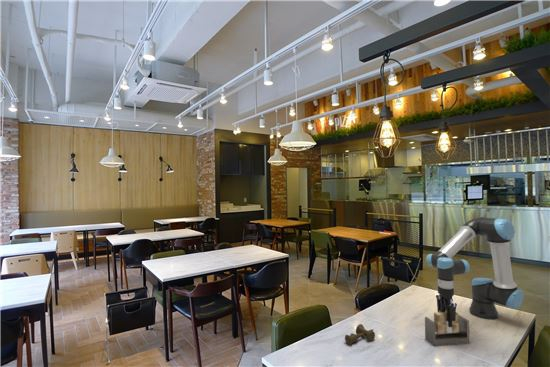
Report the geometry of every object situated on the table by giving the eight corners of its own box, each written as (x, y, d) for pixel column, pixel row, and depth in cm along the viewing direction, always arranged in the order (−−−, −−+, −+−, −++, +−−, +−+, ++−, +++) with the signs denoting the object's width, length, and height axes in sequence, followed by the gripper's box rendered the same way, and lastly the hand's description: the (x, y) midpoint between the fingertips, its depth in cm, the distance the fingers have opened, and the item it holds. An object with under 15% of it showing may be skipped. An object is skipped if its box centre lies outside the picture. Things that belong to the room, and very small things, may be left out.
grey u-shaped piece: (459, 336, 160) (459, 314, 160) (469, 343, 153) (468, 320, 153) (425, 339, 158) (424, 317, 158) (433, 346, 151) (433, 323, 151)
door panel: (454, 329, 158) (454, 311, 158) (458, 332, 155) (458, 313, 155) (434, 330, 157) (433, 312, 157) (438, 333, 153) (437, 315, 154)
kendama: (341, 341, 158) (366, 331, 168) (354, 350, 150) (380, 338, 160) (341, 330, 158) (366, 320, 168) (353, 339, 150) (380, 328, 160)
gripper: (429, 282, 164) (430, 323, 163) (449, 292, 147) (450, 338, 147) (441, 281, 164) (442, 323, 164) (463, 292, 148) (464, 337, 148)
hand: (446, 330), depth 156 cm, fingers closed on door panel, 3 cm apart
